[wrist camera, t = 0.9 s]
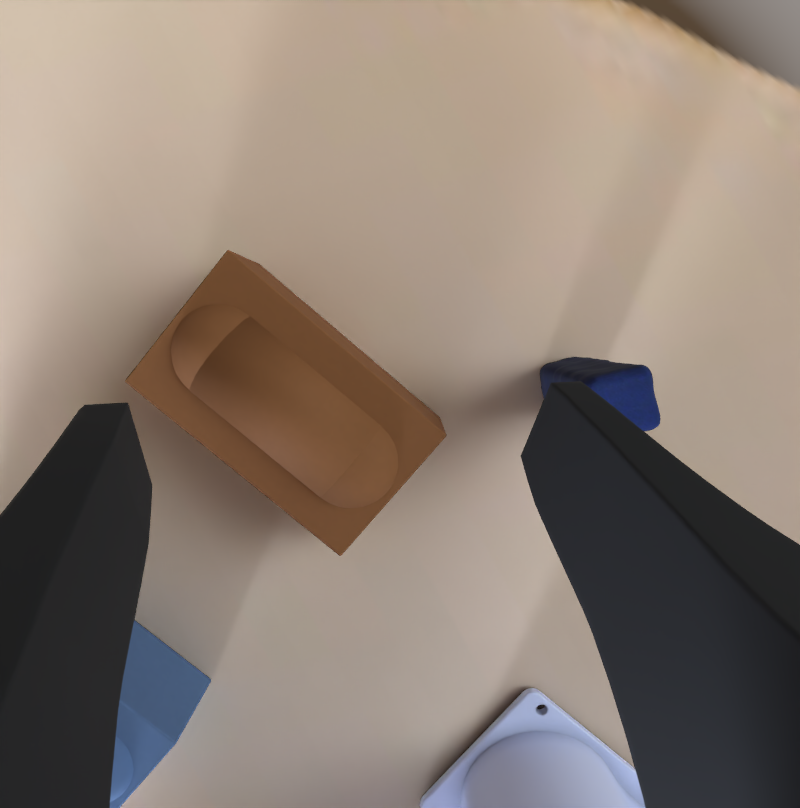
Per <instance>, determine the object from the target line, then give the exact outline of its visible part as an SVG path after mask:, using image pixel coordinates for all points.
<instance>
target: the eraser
mask: <svg viewBox="0 0 800 808" xmlns="http://www.w3.org/2000/svg"><path fill="white" fill-rule="evenodd" d="M540 379H541V388H542V393H543V397H544V398H545V396H546V393H547V391H548V389H549V386H550V384H551V383H554V382H575V381H581V382H582V383H584V384H585V385H587V386H588V387H589V388H591V389H592V390H593V391H595V392H596V393H597V394H598V395H600V396H601V397H602V398H603V399H605V400H606V401H607V402H608V403H610V404H611V405H612V406H613V407H615V408H616V409H617V410H618V411H620V412H621V413H622V414H623V415H624V416H626V417H627V418H628V419H629V420H630V421H632V422H633V423H634V424H635V425H637V426H638V427H639V428H640V429H641V430H643V431H648V430H652V429H654V428H656V427H657V426H659V424H660V413H659V409H658V405H657V401H656V398H655V394H654V389H653V378H652V374H651V371H650V370H649V368H648V367H646V366H644V365H634V364H624V363H615V362H610V361H608V360H600V359H592V358H581V357H571V358H566V359H562V360H560V361H557V362H552V363H548V364H546V365H544V366H543V367H542V369H541V370H540Z"/></svg>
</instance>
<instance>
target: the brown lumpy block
mask: <svg viewBox="0 0 800 808" xmlns="http://www.w3.org/2000/svg"><path fill="white" fill-rule="evenodd" d="M125 382H126V383H127V384H128V385H130V386H131V387H132V388H133V389H135V390H136V391H137V392H138V393H140V394H141V395H142V396H143V397H144V398H146V399H147V400H148V401H149V402H151V403H152V404H153V405H154V406H156V407H157V408H158V409H159V410H160V411H162V412H163V413H164V414H165V415H167V416H168V417H169V418H170V419H172V420H173V421H174V422H175V423H177V424H178V425H179V426H180V427H181V428H183V429H184V430H185V431H186V432H188V433H189V434H190V435H191V436H193V437H194V438H195V439H196V440H197V441H199V442H200V443H201V444H202V445H204V446H205V447H206V448H207V449H209V450H210V451H211V452H212V453H214V454H215V455H216V456H217V457H218V458H220V459H221V460H222V461H223V462H225V463H226V464H227V465H228V466H230V467H231V468H232V469H233V470H234V471H236V472H237V473H238V474H239V475H241V476H242V477H243V478H244V479H246V480H247V481H248V482H249V483H251V484H252V485H253V486H254V487H255V488H257V489H258V490H259V491H260V492H262V493H263V494H264V495H265V496H267V497H268V498H269V499H270V500H271V501H273V502H274V503H275V504H276V505H278V506H279V507H280V508H281V509H283V510H284V511H285V512H286V513H288V514H289V515H290V516H291V517H292V518H294V519H295V520H296V521H297V522H299V523H300V524H301V525H302V526H304V527H305V528H306V529H307V530H308V531H310V532H311V533H312V534H313V535H315V536H316V537H317V538H318V539H320V540H321V541H322V542H323V543H324V544H326V545H327V546H328V547H329V548H331V549H332V550H333V551H334V552H336V553H337V554H338V555H339V556H341V555H342V554H343V553H344V552H345V551H346V549H347V548H348V547H349V546H350V545H351V544H352V543H353V541H354V540H355V539H356V538H357V537H358V536H359V535H360V534H361V532H362V531H363V530H364V529H365V528H366V527H367V526H368V524H369V523H370V522H371V521H372V520H373V519H374V518H375V516H376V515H377V514H378V513H379V512H380V511H381V510H382V508H383V507H384V506H385V505H386V504H387V503H388V502H389V501H390V499H391V498H392V497H393V496H394V495H395V494H396V493H397V491H398V490H399V489H400V488H401V487H402V486H403V485H404V483H405V482H406V481H407V480H408V479H409V478H410V477H411V475H412V474H413V473H414V472H415V471H416V470H417V469H418V467H419V466H420V465H421V464H422V463H423V462H424V461H425V460H426V458H427V457H428V456H429V455H430V454H431V453H432V452H433V450H434V449H435V448H436V447H437V446H438V445H439V444H440V442H441V441H442V440H443V439H444V438H445V437H446V433H445V430H444V427H443V425H442V422H441V419H440V417H439V416H438V415H436V414H435V413H434V412H433V411H432V410H430V409H429V408H428V407H427V406H426V405H425V404H423V403H422V402H421V401H420V400H419V399H418V398H416V397H415V396H414V395H413V394H412V393H410V392H409V391H408V390H407V389H406V388H405V387H403V386H402V385H401V384H400V383H399V382H397V381H396V380H395V379H394V378H393V377H392V376H390V375H389V374H388V373H387V372H386V371H385V370H383V369H382V368H381V367H380V366H379V365H377V364H376V363H375V362H374V361H373V360H372V359H370V358H369V357H368V356H367V355H366V354H365V353H363V352H362V351H361V350H360V349H359V348H357V347H356V346H355V345H354V344H353V343H352V342H350V341H349V340H348V339H347V338H346V337H345V336H343V335H342V334H341V333H340V332H339V331H337V330H336V329H335V328H334V327H333V326H332V325H330V324H329V323H328V322H327V321H326V320H324V319H323V318H322V317H321V316H320V315H319V314H317V313H316V312H315V311H314V310H313V309H312V308H310V307H309V306H308V305H307V304H306V303H304V302H303V301H302V300H301V299H300V298H299V297H297V296H296V295H295V294H294V293H293V292H292V291H290V290H289V289H288V288H287V287H286V286H284V285H283V284H282V283H281V282H280V281H279V280H277V279H276V278H275V277H274V276H273V275H271V274H270V273H269V272H268V271H267V270H266V269H264V268H263V267H262V266H261V265H260V264H258V263H256V262H253V261H251V260H249V259H247V258H245V257H242V256H240V255H238V254H236V253H234V252H231V251H229V250H227V251H226V253H225V254H224V255H223V256H222V258H221V259H220V260H219V262H218V263H217V264H216V265H215V267H214V268H213V269H212V271H211V272H210V273H209V274H208V276H207V277H206V278H205V279H204V281H203V282H202V283H201V285H200V286H199V287H198V288H197V290H196V291H195V292H194V293H193V295H192V296H191V297H190V299H189V300H188V301H187V302H186V304H185V305H184V306H183V308H182V309H181V310H180V311H179V313H178V314H177V315H176V316H175V318H174V319H173V320H172V322H171V323H170V324H169V325H168V327H167V328H166V329H165V330H164V332H163V333H162V334H161V336H160V337H159V338H158V339H157V341H156V342H155V343H154V345H153V346H152V347H151V348H150V350H149V351H148V352H147V353H146V355H145V356H144V357H143V359H142V360H141V361H140V362H139V364H138V365H137V366H136V368H135V369H134V370H133V371H132V373H131V374H130V375H129V376H128V378H127V379H126V380H125Z"/></svg>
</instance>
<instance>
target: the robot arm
mask: <svg viewBox="0 0 800 808" xmlns="http://www.w3.org/2000/svg"><path fill="white" fill-rule="evenodd" d="M521 458H522V462H523V465H524V469H525V473H526V476H527V480H528V483H529V486H530V489H531V493H532V496H533V499H534V502H535V505H536V507H537V509H538V512H539V514H540V516H541V519H542V521H543V523H544V525H545V528H546V530H547V532H548V534H549V536H550V539H551V541H552V543H553V545H554V548H555V550H556V552H557V554H558V556H559V558H560V561H561V563H562V565H563V567H564V569H565V571H566V574H567V576H568V578H569V580H570V582H571V585H572V587H573V589H574V591H575V593H576V595H577V598H578V600H579V602H580V604H581V606H582V609H583V611H584V613H585V616H586V618H587V621H588V623H589V626H590V628H591V631H592V633H593V636H594V639H595V642H596V645H597V648H598V650H599V653H600V656H601V659H602V662H603V665H604V668H605V671H606V674H607V677H608V680H609V683H610V686H611V689H612V692H613V695H614V699H615V702H616V705H617V708H618V712H619V715H620V718H621V721H622V724H623V728H624V731H625V734H626V737H627V741H628V745H629V748H630V752H631V756H632V759H633V763H634V767H635V768H634V767H632V766H631V765H630V764H629V763H628V762H626V761H625V760H624V759H623V758H621V757H620V756H619V755H618V754H617V753H615V752H614V751H613V750H612V749H610V748H609V747H608V746H607V745H605V744H604V743H603V742H602V741H601V740H599V739H598V738H597V737H596V736H594V735H593V734H592V733H591V732H590V731H588V730H587V729H586V728H585V727H583V726H582V725H581V724H580V723H578V722H577V721H576V720H575V719H574V718H572V717H571V716H570V715H569V714H567V713H566V712H565V711H564V710H563V709H561V708H560V707H559V706H558V705H556V704H555V703H554V702H553V701H552V700H550V699H549V698H548V697H547V696H545V695H544V694H543V693H542V692H540V691H539V690H537V689H536V688H528V689H526V690H525V691H523V692H522V693H521V694H520V695H519V696H518V697H517V698H516V700H515V701H514V702H513V703H512V704H511V705H510V706H509V707H508V708H507V709H506V710H505V711H504V712H503V713H502V714H501V715H500V716H499V717H498V718H497V719H496V720H495V721H494V722H493V723H492V724H491V725H490V727H489V728H488V729H487V730H486V731H485V732H484V733H483V734H482V735H481V736H480V737H479V738H478V739H477V740H476V741H475V742H474V743H473V744H472V745H471V746H470V747H469V748H468V749H467V750H466V751H465V752H464V754H463V755H462V756H461V757H460V758H459V759H458V760H457V761H456V762H455V763H454V764H453V765H452V766H451V767H450V768H449V769H448V770H447V771H446V772H445V773H444V774H443V775H442V776H441V777H440V778H439V779H438V781H437V782H436V783H435V784H434V785H433V786H432V787H431V788H430V789H429V790H428V791H427V792H426V793H425V794H424V795H423V796H422V798H421V799H420V808H800V545H799V544H797V543H796V542H794V541H793V540H791V539H790V538H788V537H786V536H785V535H783V534H782V533H780V532H779V531H777V530H776V529H774V528H772V527H771V526H769V525H768V524H766V523H765V522H763V521H762V520H760V519H759V518H757V517H756V516H754V515H753V514H752V513H750V512H749V511H747V510H746V509H744V508H743V507H741V506H740V505H739V504H737V503H736V502H735V501H733V500H732V499H730V498H729V497H728V496H726V495H725V494H724V493H722V492H721V491H719V490H718V489H717V488H715V487H714V486H713V485H711V484H710V483H708V482H707V481H706V480H705V479H703V478H702V477H701V476H699V475H698V474H697V473H695V472H694V471H693V470H691V469H690V468H689V467H688V466H686V465H685V464H684V463H682V462H681V461H680V460H679V459H677V458H676V457H675V456H674V455H672V454H671V453H670V452H669V451H667V450H666V449H665V448H664V447H662V446H661V445H660V444H659V443H657V442H656V441H655V440H654V439H652V438H651V437H650V436H649V435H648V434H646V433H645V432H644V431H643V430H641V429H640V428H639V427H638V426H637V425H635V424H634V423H633V422H632V421H630V420H629V419H628V418H627V417H626V416H624V415H623V414H622V413H621V412H620V411H618V410H617V409H616V408H615V407H613V406H612V405H611V404H610V403H608V402H607V401H606V400H605V399H603V398H602V397H601V396H600V395H598V394H597V393H596V392H595V391H593V390H592V389H591V388H589V387H588V386H587V385H585V384H584V383H582V382H581V381H575V382H554V383H551V384H550V386H549V389H548V391H547V393H546V396H545V398H544V401H543V403H542V406H541V408H540V410H539V413H538V415H537V418H536V420H535V423H534V425H533V428H532V430H531V432H530V435H529V437H528V440H527V442H526V445H525V447H524V449H523V452H522V454H521ZM151 499H152V483H151V479H150V476H149V473H148V469H147V466H146V462H145V459H144V456H143V452H142V449H141V446H140V442H139V439H138V435H137V432H136V429H135V425H134V422H133V418H132V415H131V412H130V408H129V405H128V403H113V404H91V405H84V406H83V407H82V408H81V409H80V410H79V411H78V412H77V414H76V415H75V416H74V418H73V419H72V421H71V422H70V423H69V425H68V426H67V428H66V429H65V430H64V432H63V433H62V435H61V436H60V437H59V439H58V440H57V442H56V443H55V444H54V446H53V447H52V448H51V450H50V451H49V453H48V454H47V455H46V457H45V458H44V459H43V461H42V462H41V463H40V465H39V466H38V467H37V469H36V470H35V471H34V473H33V474H32V475H31V477H30V478H29V479H28V481H27V482H26V483H25V485H24V486H23V487H22V488H21V490H20V491H19V492H18V493H17V495H16V496H15V497H14V498H13V500H12V501H11V502H10V503H9V505H8V506H7V507H6V508H5V510H4V511H3V512H2V514H1V515H0V808H110V796H111V783H112V771H113V760H114V749H115V739H116V728H117V717H118V708H119V701H120V694H121V688H122V681H123V675H124V670H125V665H126V660H127V655H128V649H129V644H130V639H131V634H132V629H133V623H134V618H135V613H136V608H137V603H138V598H139V592H140V587H141V582H142V576H143V571H144V566H145V560H146V555H147V549H148V544H149V531H150V517H151ZM538 705H545V707H544V708H542V709H536V708H537V706H538Z"/></svg>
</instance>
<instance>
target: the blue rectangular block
mask: <svg viewBox="0 0 800 808" xmlns="http://www.w3.org/2000/svg"><path fill="white" fill-rule="evenodd" d="M210 682H211V679H210V678H209V677H207V676H206V675H205V674H203V673H202V672H201V671H200V670H198V669H197V668H196V667H194V666H193V665H192V664H190V663H189V662H188V661H187V660H185V659H184V658H183V657H181V656H180V655H179V654H178V653H176V652H175V651H174V650H172V649H171V648H170V647H168V646H167V645H166V644H165V643H163V642H162V641H161V640H159V639H158V638H157V637H156V636H154V635H153V634H152V633H150V632H149V631H148V630H146V629H145V628H144V627H143V626H141V625H140V624H139V623H137V622H136V621H135V620H134V623H133V629H132V634H131V639H130V644H129V649H128V655H127V660H126V665H125V670H124V675H123V681H122V688H121V694H120V701H119V708H118V717H117V728H116V739H115V749H114V760H113V771H112V783H111V796H110V808H120V807H121V805H122V804H123V803H124V802H125V801H126V800H127V799H128V797H129V796H130V795H131V794H132V793H133V792H134V791H135V789H136V788H137V787H138V786H139V785H140V784H141V783H142V781H143V780H144V779H145V778H146V777H147V776H148V775H149V773H150V772H151V771H152V770H153V769H154V768H155V767H156V766H157V764H158V763H159V762H160V761H161V760H162V759H163V758H164V756H165V755H166V754H167V753H168V752H169V751H170V750H171V748H172V747H173V746H174V745H175V744H176V742H177V741H178V739H179V737H180V735H181V734H182V732H183V730H184V728H185V726H186V725H187V723H188V721H189V719H190V718H191V716H192V714H193V712H194V710H195V709H196V707H197V705H198V703H199V702H200V700H201V698H202V696H203V695H204V693H205V691H206V689H207V687H208V686H209V684H210Z"/></svg>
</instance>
